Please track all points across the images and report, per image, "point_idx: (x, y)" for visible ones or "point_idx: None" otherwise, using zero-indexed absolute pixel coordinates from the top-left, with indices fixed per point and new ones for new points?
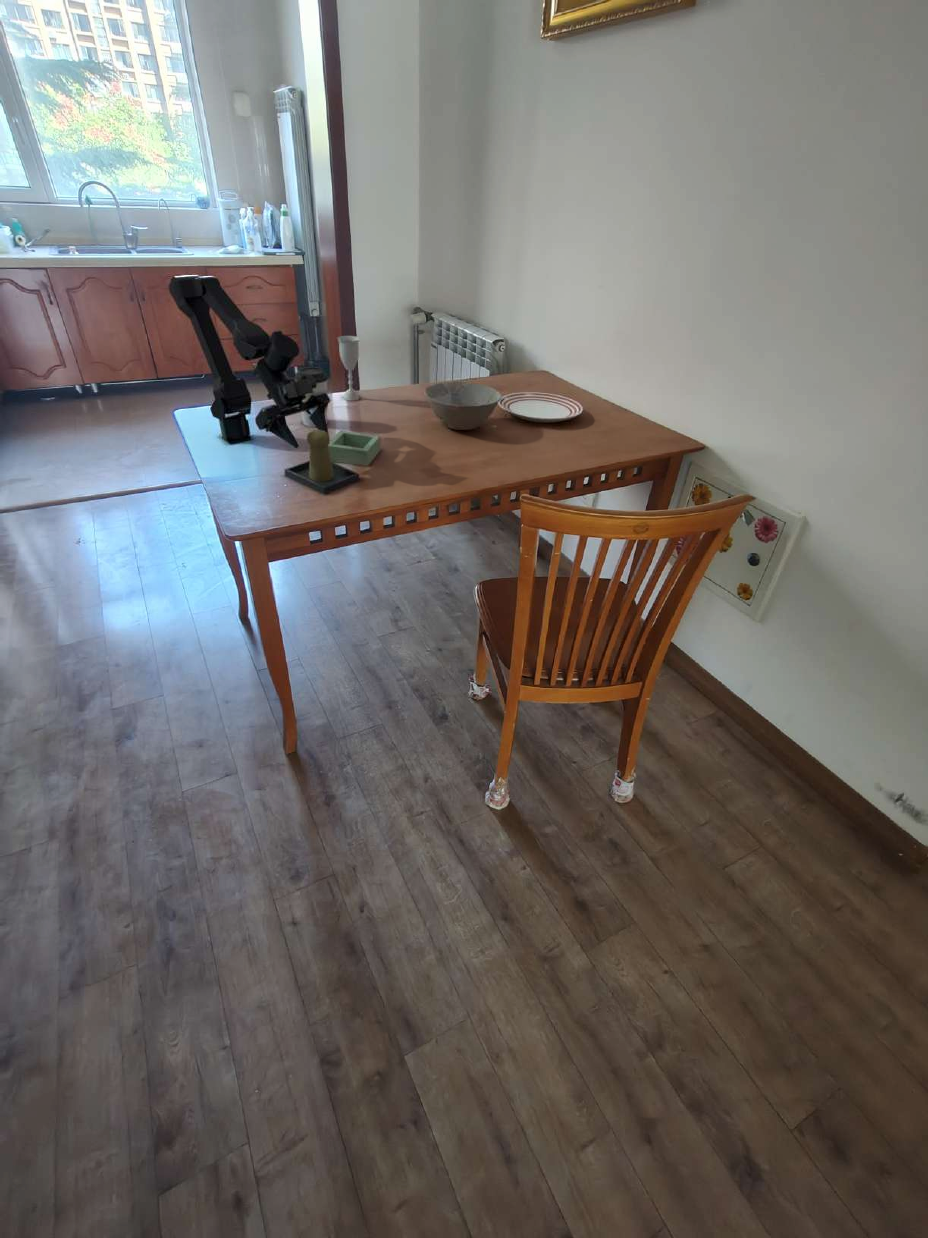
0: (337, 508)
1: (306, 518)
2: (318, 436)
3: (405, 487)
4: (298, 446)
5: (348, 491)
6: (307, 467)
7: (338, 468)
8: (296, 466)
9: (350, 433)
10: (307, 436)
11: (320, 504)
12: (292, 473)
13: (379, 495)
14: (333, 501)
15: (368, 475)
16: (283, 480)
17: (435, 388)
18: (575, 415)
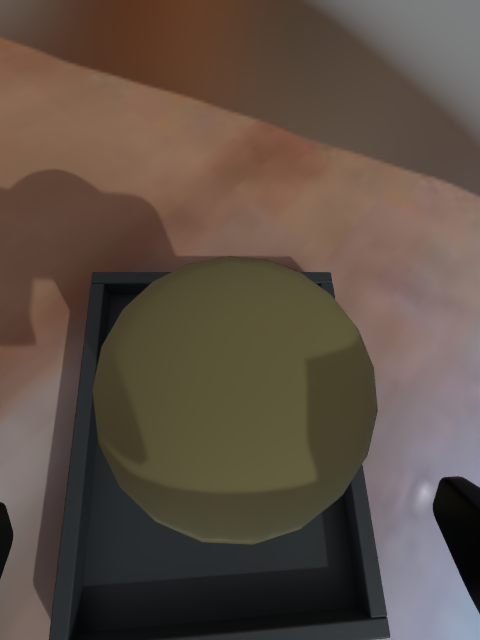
0: (346, 184)
1: (472, 203)
2: (306, 281)
3: (29, 131)
4: (443, 479)
5: (223, 246)
6: (202, 612)
7: (94, 424)
8: (294, 624)
9: None
10: (368, 449)
11: (381, 241)
12: (373, 534)
13: (158, 153)
14: (326, 227)
15: (25, 298)
16: (406, 562)
17: None
18: None
